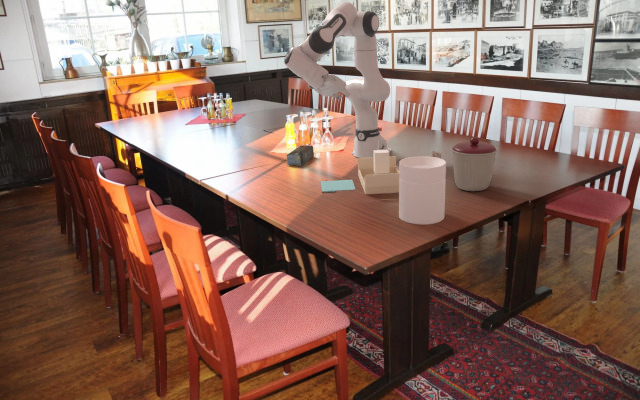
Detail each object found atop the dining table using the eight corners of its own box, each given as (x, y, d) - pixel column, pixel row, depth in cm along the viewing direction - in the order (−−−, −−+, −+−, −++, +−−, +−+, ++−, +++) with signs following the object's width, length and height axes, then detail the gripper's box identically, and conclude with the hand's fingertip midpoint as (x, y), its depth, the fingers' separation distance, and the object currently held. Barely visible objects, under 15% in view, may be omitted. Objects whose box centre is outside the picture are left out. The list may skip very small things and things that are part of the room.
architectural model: (435, 170, 242) (436, 154, 239) (425, 167, 247) (425, 151, 245) (441, 168, 243) (441, 153, 241) (430, 165, 249) (431, 150, 246)
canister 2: (461, 178, 226) (463, 130, 219) (502, 185, 215) (505, 135, 208) (441, 190, 213) (443, 139, 206) (484, 197, 202) (487, 144, 195)
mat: (321, 192, 217) (321, 191, 216) (320, 182, 230) (320, 181, 230) (355, 190, 217) (355, 189, 217) (352, 180, 230) (352, 179, 230)
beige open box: (365, 195, 211) (365, 175, 208) (358, 176, 236) (357, 158, 233) (407, 193, 211) (407, 172, 208) (395, 174, 237) (396, 156, 234)
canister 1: (438, 207, 194) (439, 155, 188) (449, 223, 179) (451, 166, 172) (395, 209, 194) (395, 157, 187) (403, 225, 179) (403, 169, 172)
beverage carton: (286, 166, 259) (285, 153, 257) (300, 156, 276) (299, 144, 274) (301, 166, 257) (300, 153, 255) (314, 157, 274) (313, 144, 272)
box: (375, 185, 221) (375, 153, 216) (373, 181, 226) (373, 150, 221) (389, 184, 221) (389, 152, 217) (387, 181, 226) (387, 149, 221)
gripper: (331, 67, 206) (358, 87, 211) (314, 75, 225) (339, 94, 230) (324, 80, 205) (351, 100, 210) (307, 87, 224) (332, 106, 229)
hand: (344, 97), depth 220 cm, fingers open, 8 cm apart
